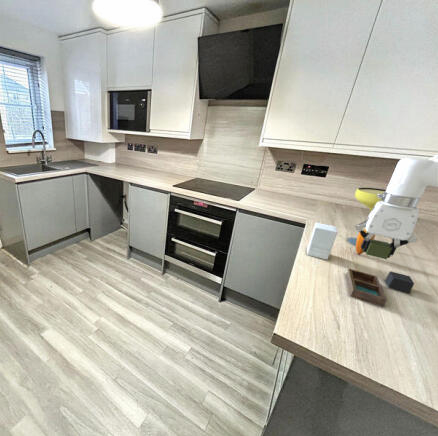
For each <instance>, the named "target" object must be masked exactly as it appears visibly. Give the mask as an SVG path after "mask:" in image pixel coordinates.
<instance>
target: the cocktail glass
mask: <svg viewBox="0 0 438 436" xmlns="http://www.w3.org/2000/svg"><path fill="white" fill-rule="evenodd" d="M384 192H386V189H384V188H377V187H376V188H375V187H358V188H357V189H356V191H355V193H354V196H355V199H356V200H357V201H358V202H359V203H361V204H362V205H363V206H365V207H367V208H368V209H369V211H370V212H371V211H372V209H373V208H374V206H375V205H376V204H377V202H378V201H381V199H380V198H377V194H383V193H384ZM357 238H358V237H357ZM357 238H356V237H350V238H349V237H348V239H347V241H348V243H350V244H351V245H353V246H356V241H357Z"/></svg>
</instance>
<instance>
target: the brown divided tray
mask: <svg viewBox="0 0 438 436" xmlns="http://www.w3.org/2000/svg"><path fill="white" fill-rule="evenodd" d="M346 280H347V286H348V291H349V296H350V297H352V298H355V299H358V300H361V301H364V302H367V303H371V304H374V305H377V306H380V307H384V305H385V304H386V302H387V297H386V295H385V293H384V292H385V291H384V290H383V288H382V285H381V282H380V280H379V278H378V276H377V275H374V274H370V273H367V272H363V271H360V270H356V269H352V268H347V272H346Z"/></svg>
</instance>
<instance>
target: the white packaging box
mask: <svg viewBox="0 0 438 436" xmlns="http://www.w3.org/2000/svg"><path fill="white" fill-rule="evenodd" d="M337 235H338V229H337V226H335V225H330V224H325V223H320V222H315V223H314V227H313V229H312V233H311V235H310V238H309V242H308V244H307V248H306V249H307V251H306V255H307V256H311V257H314V258H319V259H322V260H328V259H329V257H330V254H331V251H332V249H333V246H334V243H335V240H336V238H337Z"/></svg>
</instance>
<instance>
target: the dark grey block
mask: <svg viewBox="0 0 438 436" xmlns="http://www.w3.org/2000/svg"><path fill="white" fill-rule="evenodd" d="M384 281H385V283H386V286H387V288H388V289H392V290H394V291H395V290H396V291H398V292H403V293H405V294H410V292H411V290H412V289H413V287H414V285H415V282H414V281H413V279H412V278H411V276H410V275H406V274H403V273H398V272H395V271H391V270H390V271H389V272H388V274H387V276H386V277H385V280H384Z"/></svg>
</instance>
